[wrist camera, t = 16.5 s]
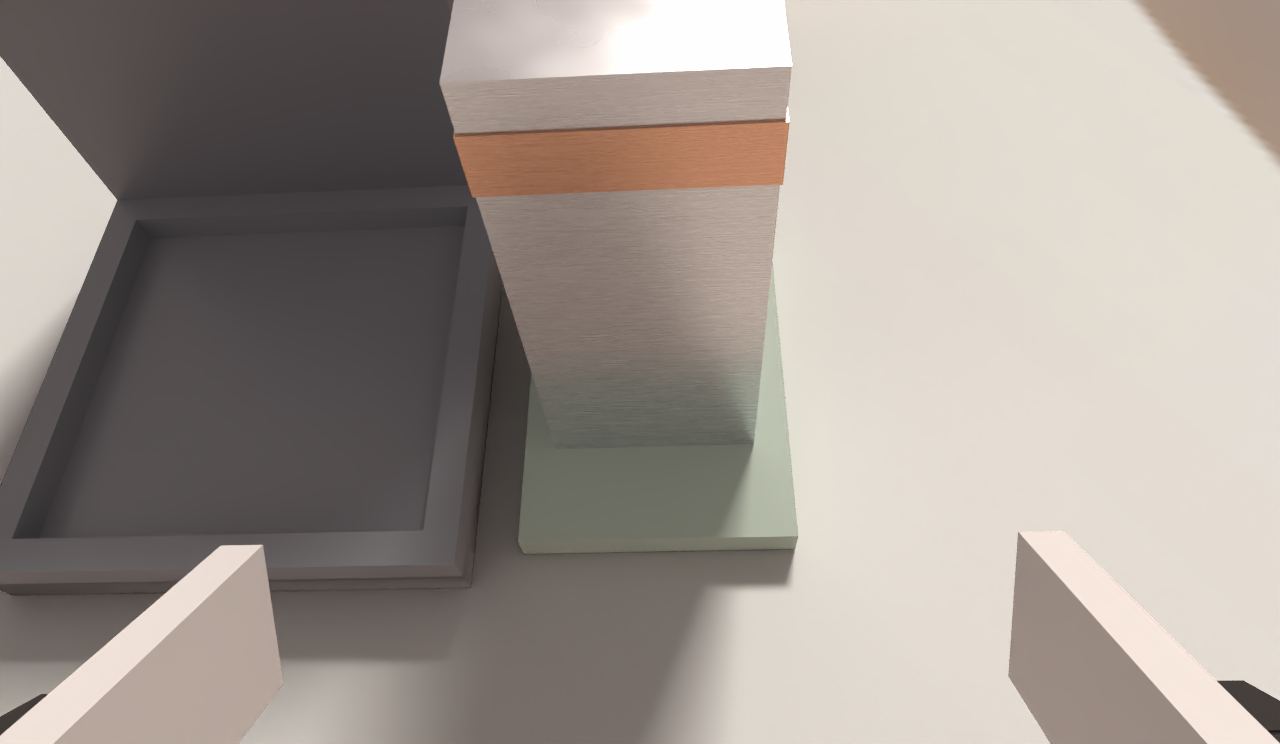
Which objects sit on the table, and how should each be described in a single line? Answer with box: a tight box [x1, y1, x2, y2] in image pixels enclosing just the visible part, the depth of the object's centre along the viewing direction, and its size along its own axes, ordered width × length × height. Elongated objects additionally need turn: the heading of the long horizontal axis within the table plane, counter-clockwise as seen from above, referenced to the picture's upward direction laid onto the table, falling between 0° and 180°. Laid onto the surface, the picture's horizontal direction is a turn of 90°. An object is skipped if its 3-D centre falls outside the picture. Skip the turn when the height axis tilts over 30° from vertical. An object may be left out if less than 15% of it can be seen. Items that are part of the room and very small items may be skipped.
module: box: [439, 0, 792, 449], centre depth 23 cm, size 6×6×14 cm
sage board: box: [518, 263, 798, 554], centre depth 29 cm, size 8×12×1 cm, turn 0°
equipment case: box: [0, 0, 503, 595], centre depth 24 cm, size 14×15×16 cm
